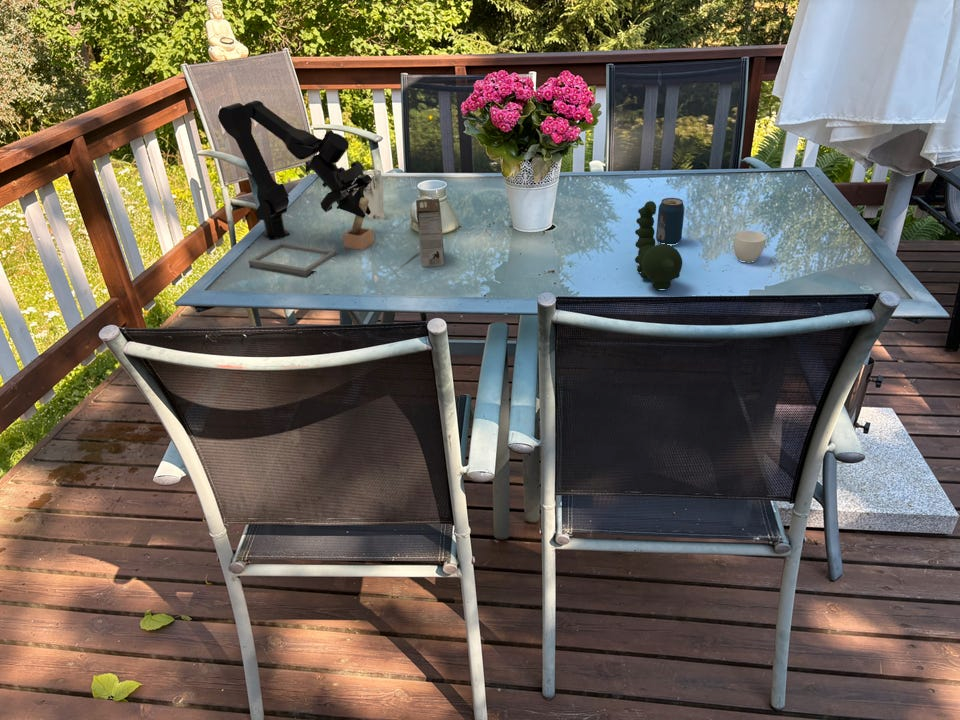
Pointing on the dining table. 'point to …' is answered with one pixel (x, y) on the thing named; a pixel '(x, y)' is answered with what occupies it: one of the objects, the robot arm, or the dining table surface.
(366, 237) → the terracotta box
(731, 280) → the dining table surface
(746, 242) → the cup
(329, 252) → the charcoal frame
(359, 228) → the wooden dowel
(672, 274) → the toy figurine
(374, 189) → the beer glass
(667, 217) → the soda can
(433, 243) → the coffee box
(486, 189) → the dining table surface
